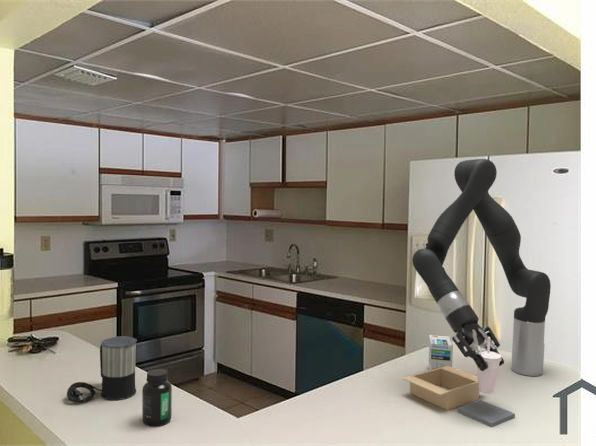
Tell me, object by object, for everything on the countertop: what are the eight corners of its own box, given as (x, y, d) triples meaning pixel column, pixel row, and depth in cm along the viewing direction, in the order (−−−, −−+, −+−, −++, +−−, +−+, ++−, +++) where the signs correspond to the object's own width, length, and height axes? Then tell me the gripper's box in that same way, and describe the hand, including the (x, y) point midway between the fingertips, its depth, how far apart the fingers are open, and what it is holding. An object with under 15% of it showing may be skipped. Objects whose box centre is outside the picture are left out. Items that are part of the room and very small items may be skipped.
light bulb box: (452, 380, 151) (453, 345, 150) (429, 377, 152) (431, 343, 152) (448, 368, 161) (450, 335, 161) (427, 366, 163) (428, 334, 162)
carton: (447, 381, 149) (447, 365, 149) (485, 397, 138) (486, 379, 138) (401, 395, 138) (402, 377, 138) (439, 413, 127) (440, 394, 127)
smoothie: (498, 388, 129) (501, 336, 128) (500, 397, 123) (503, 342, 122) (472, 384, 131) (475, 333, 130) (473, 393, 125) (476, 339, 124)
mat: (480, 403, 134) (480, 399, 134) (514, 417, 126) (514, 413, 126) (457, 411, 128) (457, 407, 128) (491, 427, 120) (491, 423, 120)
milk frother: (143, 391, 136) (144, 339, 135) (97, 413, 122) (97, 355, 121) (107, 381, 143) (107, 331, 142) (59, 401, 129) (59, 346, 128)
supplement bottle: (172, 425, 117) (172, 376, 116) (141, 428, 115) (142, 378, 114) (171, 413, 123) (171, 366, 123) (142, 416, 121) (142, 368, 121)
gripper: (448, 306, 128) (486, 365, 119) (482, 301, 136) (519, 355, 127) (431, 321, 132) (466, 379, 123) (465, 315, 140) (500, 369, 131)
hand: (493, 367), depth 125 cm, fingers closed on smoothie, 6 cm apart
